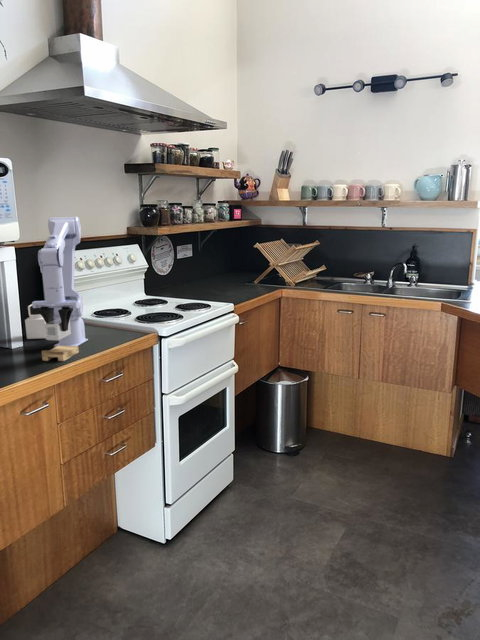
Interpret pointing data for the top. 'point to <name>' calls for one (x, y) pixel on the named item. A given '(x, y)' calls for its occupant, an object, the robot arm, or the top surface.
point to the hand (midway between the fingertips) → (58, 330)
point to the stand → (60, 353)
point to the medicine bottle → (35, 324)
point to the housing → (56, 330)
